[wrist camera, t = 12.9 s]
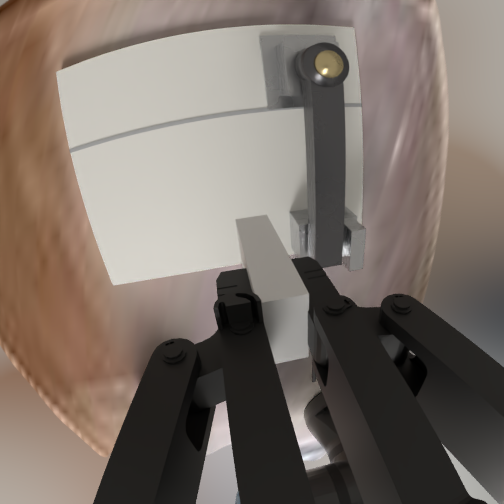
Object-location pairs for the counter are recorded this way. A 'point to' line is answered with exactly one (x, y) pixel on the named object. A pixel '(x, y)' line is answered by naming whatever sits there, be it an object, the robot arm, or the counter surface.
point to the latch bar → (324, 148)
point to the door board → (193, 148)
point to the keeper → (351, 238)
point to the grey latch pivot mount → (285, 67)
